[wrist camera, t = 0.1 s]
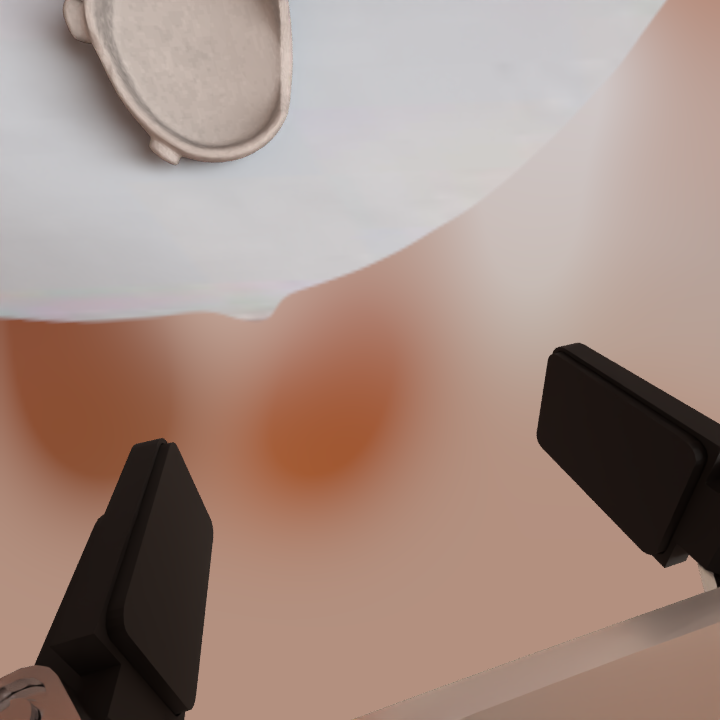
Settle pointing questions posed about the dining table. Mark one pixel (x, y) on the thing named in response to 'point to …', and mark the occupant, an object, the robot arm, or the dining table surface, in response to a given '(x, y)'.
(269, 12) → the dish
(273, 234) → the dining table surface
